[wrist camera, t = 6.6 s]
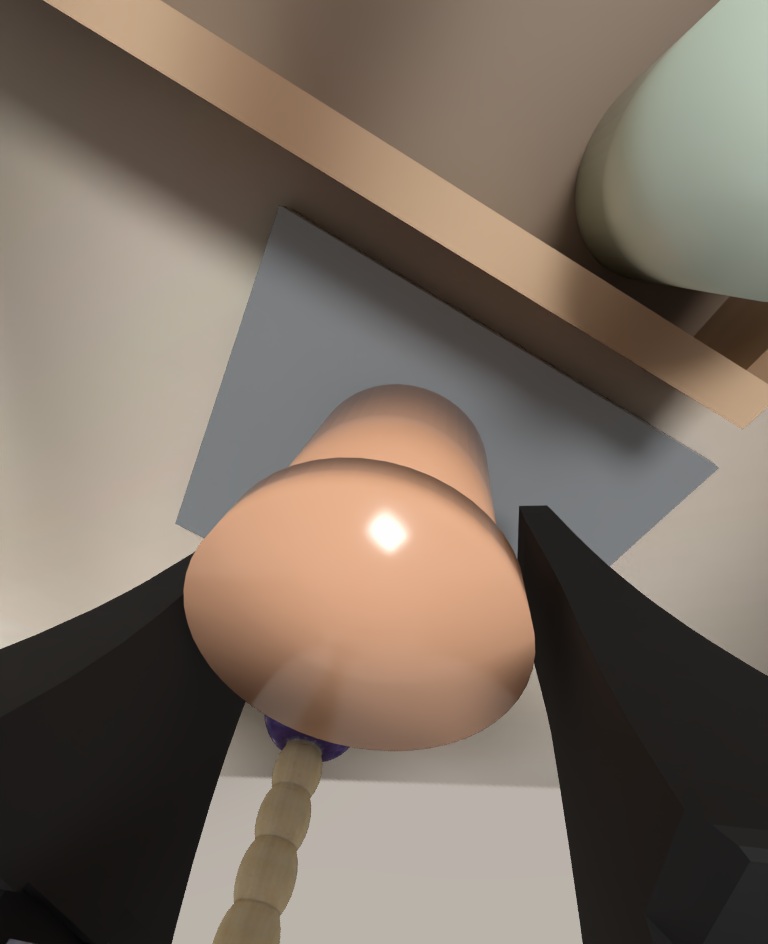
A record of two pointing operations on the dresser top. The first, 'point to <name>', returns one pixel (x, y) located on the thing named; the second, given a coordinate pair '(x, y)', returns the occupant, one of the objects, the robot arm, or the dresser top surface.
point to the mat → (433, 368)
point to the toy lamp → (276, 839)
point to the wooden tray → (464, 141)
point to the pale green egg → (687, 163)
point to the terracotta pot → (369, 582)
